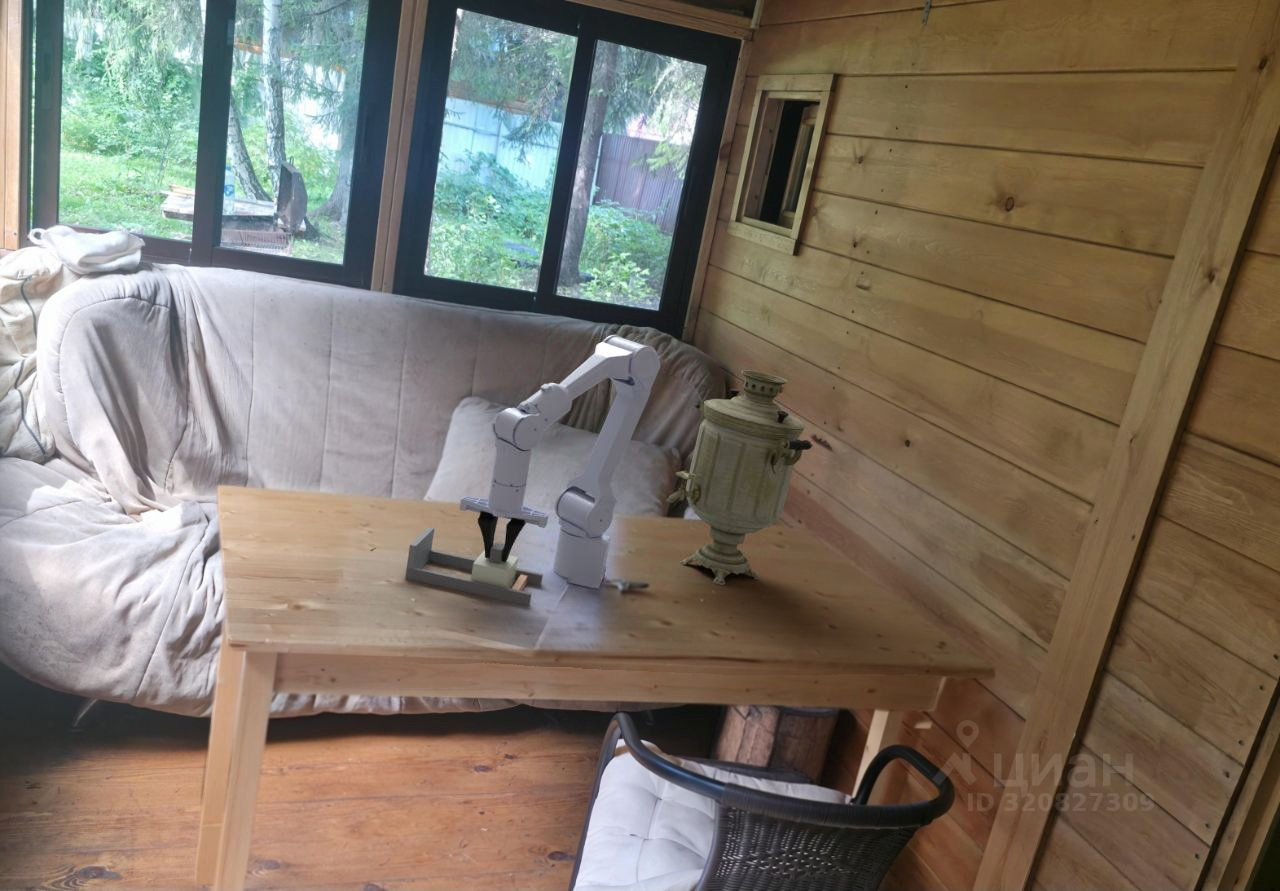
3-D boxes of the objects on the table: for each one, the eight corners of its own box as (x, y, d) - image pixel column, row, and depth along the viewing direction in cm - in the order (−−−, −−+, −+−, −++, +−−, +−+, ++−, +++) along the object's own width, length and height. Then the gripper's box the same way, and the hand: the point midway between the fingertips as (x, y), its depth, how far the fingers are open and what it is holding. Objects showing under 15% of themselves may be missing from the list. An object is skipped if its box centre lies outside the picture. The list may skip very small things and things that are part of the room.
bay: (541, 586, 175) (547, 550, 174) (526, 612, 164) (533, 574, 162) (425, 561, 177) (430, 524, 175) (402, 585, 165) (407, 546, 163)
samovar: (621, 537, 209) (658, 349, 199) (735, 545, 218) (775, 365, 209) (670, 597, 182) (715, 383, 172) (797, 603, 191) (847, 400, 181)
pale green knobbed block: (514, 581, 173) (520, 543, 171) (504, 596, 166) (511, 557, 165) (480, 574, 173) (486, 536, 172) (469, 588, 167) (475, 549, 165)
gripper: (459, 478, 162) (447, 556, 165) (547, 497, 161) (533, 575, 164) (471, 467, 169) (459, 543, 172) (555, 485, 168) (542, 561, 171)
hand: (496, 558), depth 169 cm, fingers closed
